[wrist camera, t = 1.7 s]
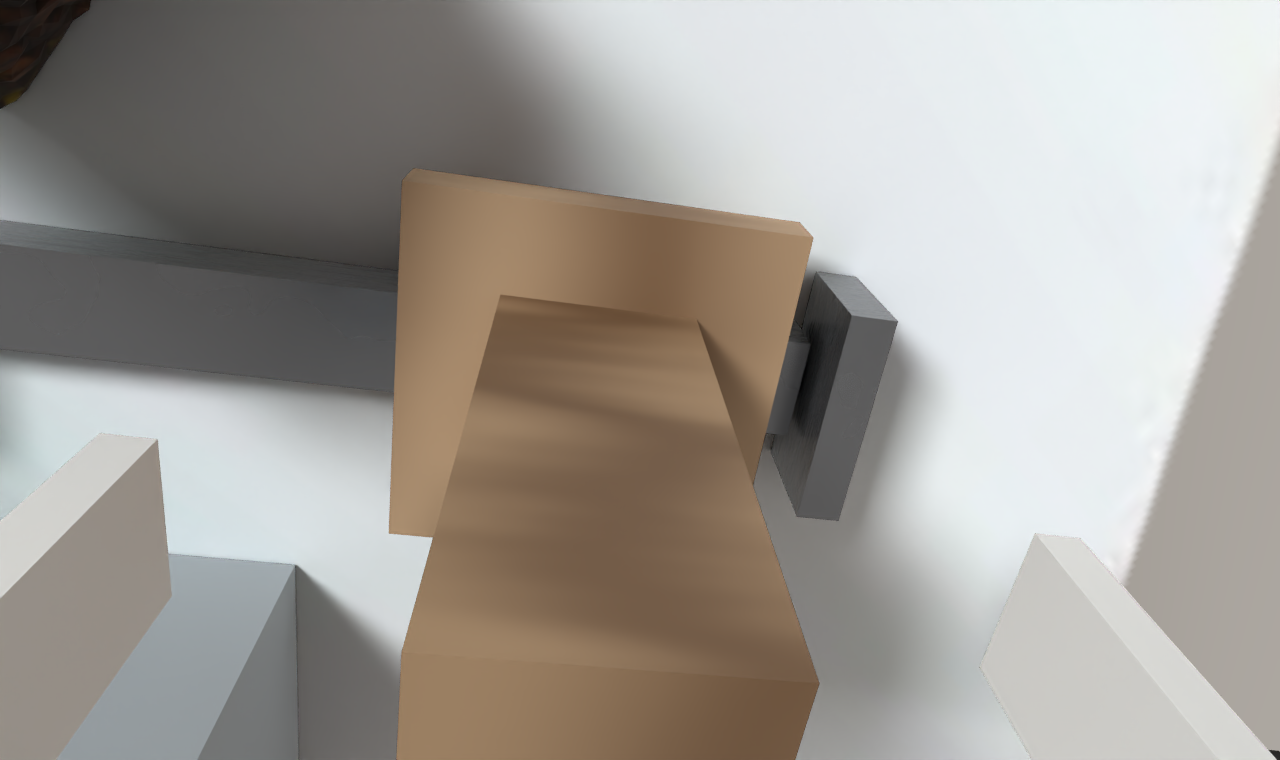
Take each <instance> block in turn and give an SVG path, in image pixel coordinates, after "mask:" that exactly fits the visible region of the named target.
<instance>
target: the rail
mask: <svg viewBox="0 0 1280 760" xmlns="http://www.w3.org/2000/svg"><path fill="white" fill-rule="evenodd" d="M398 272H399V271H398V270H390V269H382V268H374V267H366V266H358V265H351V264H343V263H335V262H327V261H319V260H311V259H303V258H295V257H287V256H280V255H272V254H264V253H256V252H248V251H240V250H232V249H224V248H216V247H208V246H201V245H193V244H185V243H177V242H169V241H161V240H153V239H145V238H137V237H129V236H122V235H114V234H106V233H98V232H90V231H82V230H74V229H66V228H58V227H50V226H43V225H35V224H27V223H19V222H11V221H3V220H0V349H4V350H13V351H22V352H31V353H40V354H49V355H58V356H67V357H77V358H86V359H95V360H104V361H113V362H122V363H131V364H140V365H149V366H158V367H168V368H177V369H186V370H195V371H204V372H213V373H222V374H231V375H240V376H249V377H259V378H268V379H277V380H286V381H295V382H304V383H313V384H322V385H331V386H340V387H349V388H359V389H368V390H377V391H386V392H394V380H395V353H396V326H397V299H398ZM897 323H898V321H897V320H896V319H895V318H894V317H893V316H892V315H891V314H890V312H889V311H888V310H887V309H886V308H885V307H884V306H883V305H882V304H881V303H880V302H879V301H878V300H877V299H876V298H875V296H874V295H873V294H872V293H871V292H870V291H869V290H868V289H867V288H866V287H865V286H864V285H863V284H862V283H861V282H860V281H859V279H858V278H857V277H854V276H846V275H839V274H831V273H824V272H816V274H815V278H814V282H813V286H812V290H811V294H810V298H809V302H808V306H807V310H806V314H805V318H804V322H803V326H802V330H801V329H800V327H799V325H798V324H797V322H796V321H793V323H792V328H791V332H790V336H789V340H788V344H787V348H786V352H785V356H784V360H783V364H782V368H781V373H780V377H779V381H778V385H777V389H776V393H775V397H774V401H773V405H772V409H771V413H770V418H769V422H768V426H767V430H766V433H768V434H775V438H774V442H773V446H772V450H771V453H772V456H773V458H774V461H775V463H776V466H777V468H778V471H779V473H780V476H781V478H782V481H783V483H784V486H785V488H786V491H787V493H788V496H789V498H790V501H791V503H792V506H793V508H794V511H795V513H796V516H797V517H805V518H815V519H825V520H836V521H838V520H839V517H840V513H841V510H842V507H843V503H844V500H845V497H846V493H847V490H848V487H849V483H850V480H851V477H852V473H853V470H854V467H855V463H856V460H857V457H858V453H859V450H860V447H861V443H862V440H863V437H864V433H865V430H866V427H867V423H868V420H869V416H870V413H871V410H872V406H873V403H874V400H875V396H876V393H877V390H878V386H879V383H880V380H881V376H882V373H883V370H884V366H885V363H886V360H887V356H888V353H889V350H890V346H891V343H892V340H893V336H894V333H895V330H896V326H897Z"/></svg>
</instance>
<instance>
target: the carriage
mask: <svg viewBox="0 0 1280 760" xmlns="http://www.w3.org/2000/svg"><path fill="white" fill-rule="evenodd" d="M812 242H813V237H812V236H811V234H810V233H809V232H808V231H807V230H806V229H805V228H804V227H803V226H802V225H801V223H800V222H793V221H786V220H779V219H772V218H765V217H758V216H750V215H743V214H736V213H729V212H722V211H715V210H708V209H701V208H694V207H687V206H680V205H672V204H665V203H658V202H651V201H644V200H637V199H630V198H623V197H616V196H609V195H601V194H594V193H587V192H580V191H573V190H566V189H559V188H552V187H545V186H538V185H531V184H523V183H516V182H509V181H502V180H495V179H488V178H481V177H474V176H467V175H460V174H452V173H445V172H438V171H431V170H424V169H417V168H413V169H412V170H411V171H410V172H409V174H408V175H407V176H406V177H405V178H404V179H403V180H402V191H401V218H400V245H399V272H398V299H397V326H396V353H395V380H394V407H393V434H392V461H391V488H390V515H389V533H390V534H401V535H412V536H423V537H433V540H432V544H431V547H430V551H429V555H428V558H427V562H426V566H425V569H424V573H423V576H422V580H421V584H420V587H419V591H418V594H417V598H416V602H415V605H414V609H413V613H412V616H411V620H410V623H409V627H408V631H407V634H406V638H405V642H404V645H403V649H402V653H401V674H400V695H399V716H398V736H397V757H396V760H795V758H796V755H797V752H798V749H799V746H800V743H801V740H802V736H803V733H804V730H805V727H806V724H807V721H808V718H809V714H810V711H811V708H812V705H813V702H814V699H815V696H816V692H817V689H818V686H819V681H818V678H817V675H816V672H815V669H814V666H813V663H812V660H811V657H810V654H809V651H808V648H807V645H806V642H805V639H804V636H803V633H802V630H801V627H800V624H799V621H798V618H797V615H796V612H795V610H794V607H793V604H792V601H791V598H790V595H789V592H788V589H787V586H786V583H785V580H784V577H783V574H782V571H781V568H780V565H779V562H778V559H777V556H776V553H775V550H774V547H773V544H772V541H771V538H770V535H769V532H768V529H767V526H766V524H765V521H764V518H763V515H762V512H761V509H760V506H759V503H758V500H757V497H756V494H755V491H754V488H753V483H754V479H755V475H756V471H757V467H758V463H759V458H760V454H761V450H762V446H763V442H764V438H765V434H766V430H767V426H768V422H769V418H770V413H771V409H772V405H773V401H774V397H775V393H776V389H777V385H778V381H779V377H780V373H781V368H782V364H783V360H784V356H785V352H786V348H787V344H788V340H789V336H790V332H791V328H792V323H793V319H794V315H795V311H796V307H797V303H798V299H799V295H800V291H801V287H802V283H803V278H804V274H805V270H806V266H807V262H808V258H809V254H810V250H811V246H812Z"/></svg>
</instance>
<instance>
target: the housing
mask: <svg viewBox="0 0 1280 760" xmlns="http://www.w3.org/2000/svg"><path fill="white" fill-rule="evenodd" d="M168 558H169V569H170V580H171V591H172V596H171V598H170V599H169V601H168V602H167V603H166V605H165V606H164V608H163V609H162V611H161V612H160V613H159V615H158V616H157V618H156V619H155V620H154V622H153V623H152V625H151V626H150V628H149V629H148V630H147V632H146V633H145V635H144V636H143V637H142V639H141V640H140V642H139V643H138V645H137V646H136V647H135V649H134V650H133V652H132V653H131V654H130V656H129V657H128V659H127V660H126V661H125V663H124V664H123V666H122V667H121V669H120V670H119V671H118V673H117V674H116V676H115V677H114V678H113V680H112V681H111V683H110V684H109V686H108V687H107V688H106V690H105V691H104V693H103V694H102V695H101V697H100V698H99V700H98V701H97V703H96V704H95V705H94V707H93V708H92V710H91V711H90V712H89V714H88V715H87V717H86V718H85V720H84V721H83V722H82V724H81V725H80V727H79V728H78V729H77V731H76V732H75V734H74V735H73V736H72V738H71V739H70V741H69V742H68V744H67V745H66V746H65V748H64V749H63V751H62V752H61V753H60V755H59V756H58V758H57V759H56V760H299V749H298V695H297V640H296V586H295V565H291V564H279V563H267V562H255V561H244V560H232V559H220V558H208V557H197V556H185V555H173V554H168Z"/></svg>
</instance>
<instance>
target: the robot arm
mask: <svg viewBox="0 0 1280 760" xmlns="http://www.w3.org/2000/svg"><path fill="white" fill-rule="evenodd" d="M171 596H172V591H171V580H170V569H169V558H168V548H167V537H166V526H165V515H164V504H163V493H162V482H161V472H160V461H159V450H158V439H151V438H142V437H132V436H123V435H114V434H104V433H99V434H98V435H97V436H96V437H95V438H94V439H93V440H92V441H90V442H89V443H88V444H87V445H86V446H85V447H84V448H82V449H81V450H80V451H79V452H78V453H77V454H76V455H75V456H73V457H72V458H71V459H70V460H69V461H68V462H67V463H65V464H64V465H63V466H62V467H61V468H60V469H59V470H58V471H56V472H55V473H54V474H53V475H52V476H51V477H50V478H48V479H47V480H46V481H45V482H44V483H43V484H42V485H41V486H39V487H38V488H37V489H36V490H35V491H34V492H33V493H32V494H30V495H29V496H28V497H27V498H26V499H25V500H24V501H22V502H21V503H20V504H19V505H18V506H17V507H16V508H15V509H13V510H12V511H11V512H10V513H9V514H8V515H7V516H5V517H4V518H3V519H2V520H1V521H0V760H56V759H57V758H58V756H59V755H60V753H61V752H62V751H63V749H64V748H65V746H66V745H67V744H68V742H69V741H70V739H71V738H72V736H73V735H74V734H75V732H76V731H77V729H78V728H79V727H80V725H81V724H82V722H83V721H84V720H85V718H86V717H87V715H88V714H89V712H90V711H91V710H92V708H93V707H94V705H95V704H96V703H97V701H98V700H99V698H100V697H101V695H102V694H103V693H104V691H105V690H106V688H107V687H108V686H109V684H110V683H111V681H112V680H113V678H114V677H115V676H116V674H117V673H118V671H119V670H120V669H121V667H122V666H123V664H124V663H125V661H126V660H127V659H128V657H129V656H130V654H131V653H132V652H133V650H134V649H135V647H136V646H137V645H138V643H139V642H140V640H141V639H142V637H143V636H144V635H145V633H146V632H147V630H148V629H149V628H150V626H151V625H152V623H153V622H154V620H155V619H156V618H157V616H158V615H159V613H160V612H161V611H162V609H163V608H164V606H165V605H166V603H167V602H168V601H169V599H170V598H171ZM979 668H980V670H981V671H982V673H983V675H984V677H985V678H986V680H987V682H988V684H989V686H990V687H991V689H992V691H993V693H994V694H995V696H996V698H997V700H998V701H999V703H1000V705H1001V707H1002V708H1003V710H1004V712H1005V714H1006V716H1007V717H1008V719H1009V721H1010V723H1011V724H1012V726H1013V728H1014V730H1015V731H1016V733H1017V735H1018V737H1019V739H1020V740H1021V742H1022V744H1023V746H1024V747H1025V749H1026V751H1027V753H1028V754H1029V756H1030V758H1031V760H1280V752H1279V751H1274V750H1268V749H1267V748H1266V747H1265V746H1264V745H1263V744H1262V742H1261V741H1260V740H1259V739H1258V738H1257V737H1256V736H1255V735H1254V733H1253V732H1252V731H1251V730H1250V729H1249V728H1248V727H1247V725H1246V724H1245V723H1244V722H1243V721H1242V720H1241V719H1240V718H1239V717H1238V715H1237V714H1236V713H1235V712H1234V711H1233V710H1232V709H1231V708H1230V706H1229V705H1228V704H1227V703H1226V702H1225V701H1224V700H1223V699H1222V697H1221V696H1220V695H1219V694H1218V693H1217V692H1216V691H1215V689H1214V688H1213V687H1212V686H1211V685H1210V684H1209V683H1208V681H1207V680H1206V679H1205V678H1204V677H1203V676H1202V675H1201V674H1200V673H1199V671H1198V670H1197V669H1196V668H1195V667H1194V666H1193V665H1192V664H1191V662H1190V661H1189V660H1188V659H1187V658H1186V657H1185V656H1184V654H1183V653H1182V652H1181V651H1180V650H1179V649H1178V648H1177V647H1176V645H1175V644H1174V643H1173V642H1172V641H1171V640H1170V639H1169V638H1168V636H1167V635H1166V634H1165V633H1164V632H1163V631H1162V630H1161V628H1159V626H1158V625H1157V624H1156V623H1155V622H1154V621H1153V619H1152V618H1151V617H1150V616H1149V615H1148V614H1147V613H1146V612H1145V610H1144V609H1143V608H1142V607H1141V606H1140V605H1139V604H1138V603H1137V601H1136V600H1135V599H1134V598H1133V597H1132V596H1131V595H1130V594H1129V592H1128V591H1127V590H1126V589H1125V588H1124V587H1123V586H1122V584H1121V583H1120V582H1119V581H1118V580H1117V579H1116V578H1115V577H1114V575H1113V574H1112V573H1111V572H1110V571H1109V570H1108V569H1107V568H1106V566H1105V565H1104V564H1103V563H1102V562H1101V561H1100V560H1099V559H1098V557H1097V556H1096V555H1095V554H1094V553H1093V552H1092V551H1091V550H1090V548H1089V547H1088V546H1087V545H1086V544H1085V543H1084V542H1083V541H1082V539H1081V538H1073V537H1064V536H1055V535H1045V534H1036V533H1035V534H1034V537H1033V539H1032V542H1031V544H1030V547H1029V549H1028V551H1027V554H1026V556H1025V559H1024V561H1023V563H1022V566H1021V568H1020V571H1019V573H1018V575H1017V578H1016V580H1015V583H1014V585H1013V588H1012V590H1011V592H1010V595H1009V597H1008V600H1007V602H1006V604H1005V607H1004V609H1003V612H1002V614H1001V616H1000V619H999V621H998V624H997V626H996V629H995V631H994V633H993V636H992V638H991V641H990V643H989V645H988V648H987V650H986V653H985V655H984V657H983V660H982V662H981V665H980V667H979Z"/></svg>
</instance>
